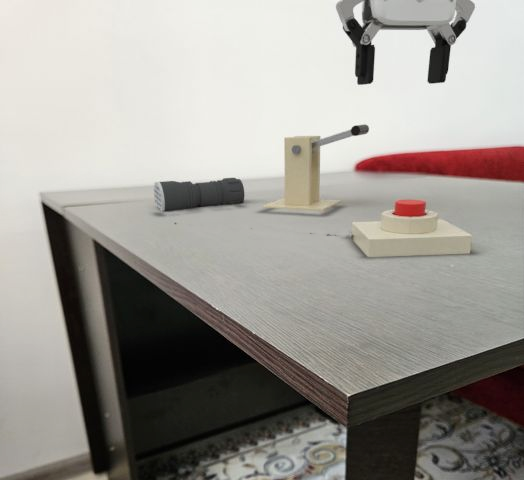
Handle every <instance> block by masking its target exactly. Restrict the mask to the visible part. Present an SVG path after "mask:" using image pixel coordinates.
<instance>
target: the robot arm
mask: <svg viewBox="0 0 524 480" xmlns="http://www.w3.org/2000/svg"><path fill="white" fill-rule="evenodd" d="M359 4H361V21H362V25H361V24H360V23H359V21H358V20H357V19H356V18H355V14H354V8H355V7H356V6H358V5H359ZM475 8H476V6H475V3H474V2H473V1H472V0H339V1H338V2H337V3H336V4H335V10H336V12H337V15H338V17H339V20H340V23H341V25H342V30H343V32H344V34H346V35H347V37H348V38H349V39H350V41H351V44H352V46H353V48H355V63H354V75H355V77H356V78H357V79H356V83H357V85H359V86H363V85H370V84H372V83H373V82H374V72H375V58H376V46H375V44H372V41H373V39H374V38H375V37H376V35H377V34H378V32H379V31H380V30H381V31H383V30H385V31H424V30H426V31H427V33H428V35H429V36H430V38H431V40H432V41H433V43H434V47H431V48H430V50H429V59H428V69H427V80H426V81H427V83H428V84H430V85H433V84H443V83H445V82H446V80H447V75H448V72H449V68H450V67H449V65H450V57H451V49H452V48H451V47H452V46H453V45H455V43H456V42H457V39H458V38H459V37H460V36H461V35H462V34H463V32H465V30H466V28H467V23H468V22H469V21H470V19H471V17H472V15H473V13H474V11H475ZM455 13H456V14H455ZM452 21H453V22H452ZM451 22H452V23H451ZM450 23H451V24H450Z"/></svg>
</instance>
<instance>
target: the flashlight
mask: <svg viewBox="0 0 524 480" xmlns="http://www.w3.org/2000/svg"><path fill="white" fill-rule="evenodd" d="M153 198H154V200H153V201H154V204H155V208H156V209H157V210H159V211H160V212H171V211H181V210H187V209H188V210H190V209H196V208H199V207H200V208H201V207H204V208H205V207H213V206H214V207H216V206H226V205H229V206H230V205H240V204H243V203H244V201H245V187H244V183H243V181H242V180H241V179H240V178H236V177H223V178H222V179H219V180H209V181H206V182H196V183H193V182H192V181H190V180H188V181H175V180H167V181H155V182H154V185H153Z"/></svg>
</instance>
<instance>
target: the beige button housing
mask: <svg viewBox="0 0 524 480" xmlns="http://www.w3.org/2000/svg"><path fill="white" fill-rule="evenodd" d="M394 211H395V208H394V209H388V210H385V211H383V212H381V213H380V220H378V221H377V220H376V221H374V220H373V221H352V222H351V236H350V238H351V240H352V241H353V242H354V243H355V245H356V246H357V247H358V248H359V249H360V250H361V251H362V252H363V254H364V255H365V256H366V257H367V258H385V257H387V258H388V257H411V256H433V255H434V256H435V255H439V256H441V255H465V254H466V255H467V254H471V249H472V241H473V234H470V233H469V232H467V231H465V230H463V229H462V228H460V227H457V226H456V225H454V224H452V223H451V222H448V221H446V220H444V219H443V218H439V213H437V212H435V211H433V210H428V209H425V216H420V217H405V216H397V215H394Z"/></svg>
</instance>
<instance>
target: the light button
mask: <svg viewBox="0 0 524 480" xmlns="http://www.w3.org/2000/svg"><path fill="white" fill-rule="evenodd" d="M426 206H427V201H425V200H422V199H398V200H395V202H394V209H395V211H394V215H397V216H405V217H420V216H425V210H426Z"/></svg>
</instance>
